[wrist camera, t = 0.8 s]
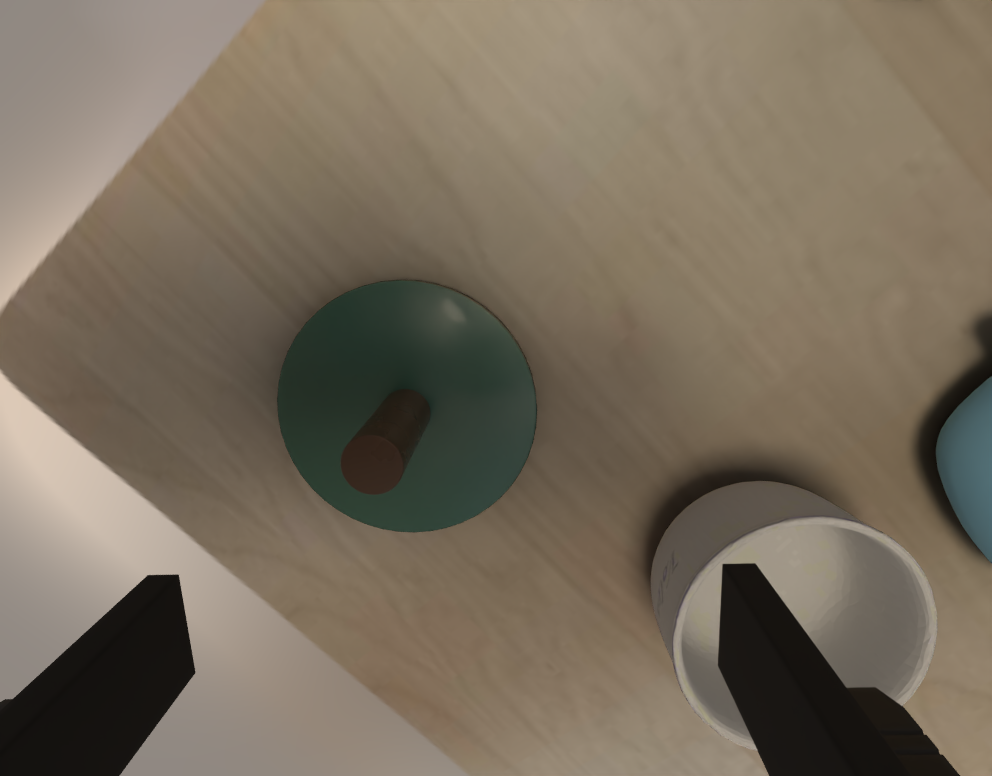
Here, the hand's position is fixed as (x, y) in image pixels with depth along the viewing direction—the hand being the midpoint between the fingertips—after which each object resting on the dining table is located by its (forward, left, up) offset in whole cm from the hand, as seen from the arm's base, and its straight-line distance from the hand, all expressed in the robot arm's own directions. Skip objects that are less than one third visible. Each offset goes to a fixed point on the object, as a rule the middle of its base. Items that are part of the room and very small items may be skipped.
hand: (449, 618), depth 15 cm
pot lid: (-3, -2, -17) cm, 17 cm away
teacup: (+17, +1, -18) cm, 24 cm away
